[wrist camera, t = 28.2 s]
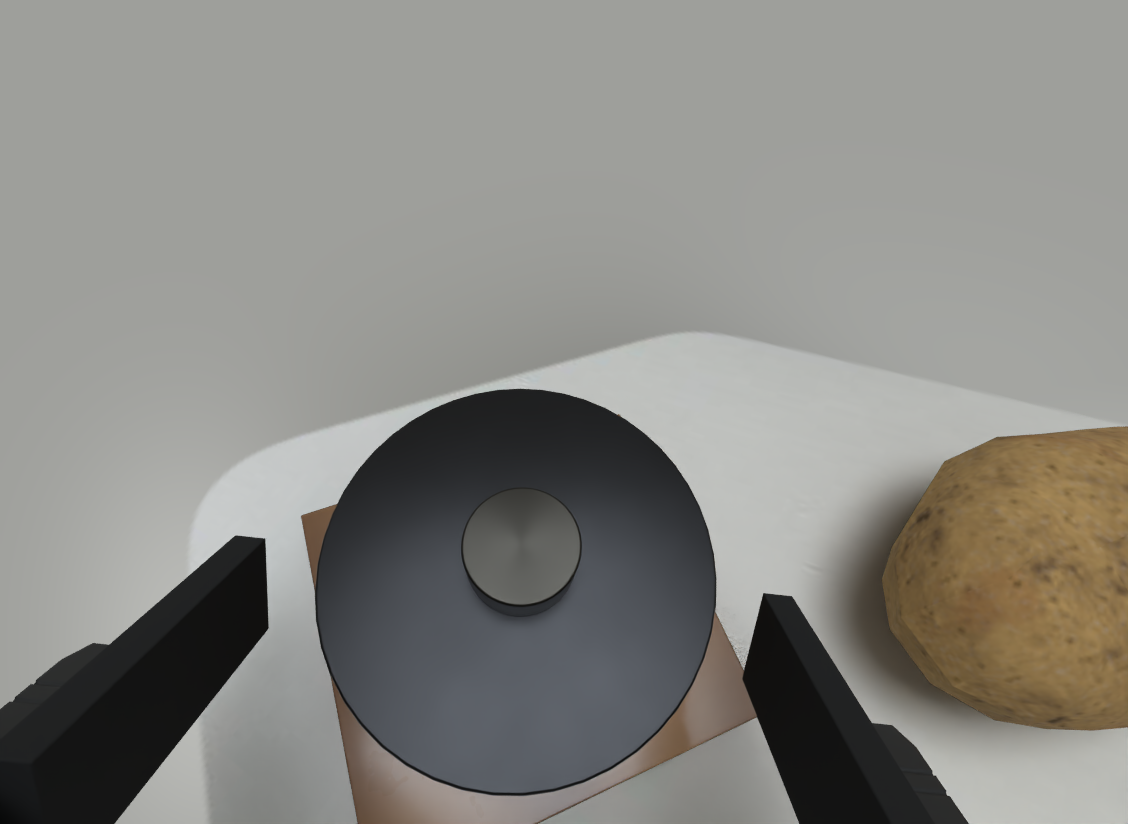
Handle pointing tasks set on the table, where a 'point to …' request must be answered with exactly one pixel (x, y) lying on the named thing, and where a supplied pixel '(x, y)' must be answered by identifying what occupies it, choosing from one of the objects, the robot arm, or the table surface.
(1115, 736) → the table surface
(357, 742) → the board
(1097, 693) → the potato
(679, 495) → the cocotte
